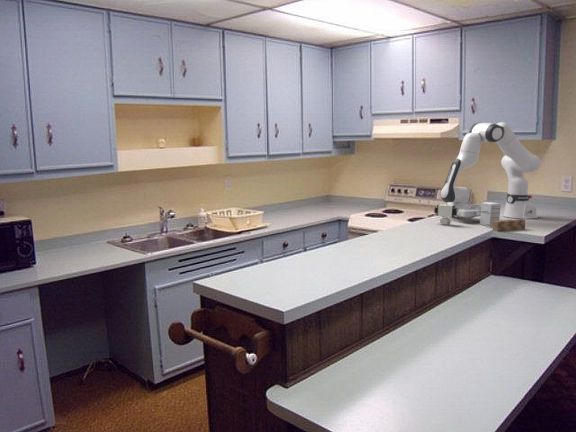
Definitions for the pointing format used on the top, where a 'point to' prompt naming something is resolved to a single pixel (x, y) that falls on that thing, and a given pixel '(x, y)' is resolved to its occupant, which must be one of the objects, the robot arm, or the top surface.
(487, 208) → the supplement box
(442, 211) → the pneumatic valve
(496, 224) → the walnut dock
